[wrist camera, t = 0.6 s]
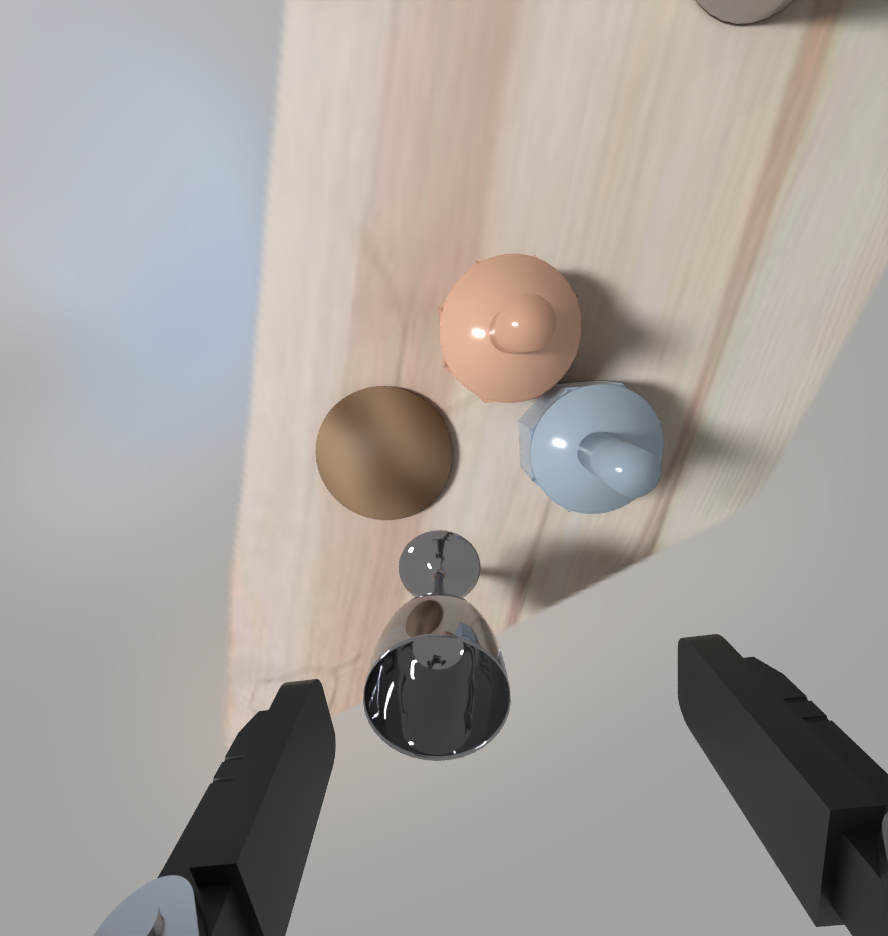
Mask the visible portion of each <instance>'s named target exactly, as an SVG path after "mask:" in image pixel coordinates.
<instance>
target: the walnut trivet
mask: <svg viewBox="0 0 888 936" xmlns="http://www.w3.org/2000/svg"><path fill="white" fill-rule="evenodd" d="M316 461H317V466H318V470H319V473H320V475H321V478H322V480H323V482H324V484H325V486H326V487H327V489H328V490H329V492H330V493H331V494H332V495H333V496H334V497H335V499H336V500H337V501H339V502H340V503H341V504H342V505H343V506H345V507H346V508H348V509H349V510H351V511H353V512H355V513H357V514H359V515H362V516H364V517H368V518H372V519H378V520H395V519H401V518H405V517H408V516H411V515H413V514H416V513H418V512H419V511H421V510H423V509H424V508H426V507H427V506H428V505H430V504H431V503H432V502H433V501H434V500H435V499H436V498H437V497H438V495H439V494H440V493H441V491H442V490H443V488H444V486H445V484H446V482H447V480H448V477H449V474H450V470H451V465H452V446H451V440H450V436H449V433H448V430H447V428H446V426H445V424H444V422H443V420H442V419H441V417H440V415H439V414H438V413H437V412H436V410H435V409H434V408H433V407H432V406H431V405H430V404H429V403H427V402H426V401H425V400H423V399H422V398H421V397H419V396H417V395H415V394H413V393H411V392H409V391H406V390H403V389H399V388H395V387H387V386H381V387H371V388H366V389H363V390H359V391H357V392H355V393H352V394H350V395H348V396H347V397H345V398H344V399H342V400H341V401H340V402H338V403H337V404H336V405H335V406H334V407H333V408H332V409H331V410H330V412H329V413H328V414H327V416H326V417H325V419H324V421H323V423H322V425H321V427H320V430H319V433H318V436H317V442H316Z"/></svg>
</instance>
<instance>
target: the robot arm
mask: <svg viewBox="0 0 888 936" xmlns="http://www.w3.org/2000/svg"><path fill="white" fill-rule="evenodd" d="M696 1H697V2H698V4H700V5H701V6H702V7H703V8H704V9H705V10H706V11H707V12H708V13H709V14H711V15H713V16H715V17H717V18H718V19H720V20H722V21H727V22H731V23H736V24H741V23H753V22H757V21H760V20H763V19H767V18H768V17H770V16H772V15H774V14H776V13H777V12H779V11H781V10H782V9H783V8H785V7H786V6H787V5H788V4H789V3H790V2H792V1H793V0H696ZM678 700H679V705H680V708H681V712H682V714H683V717H684V720H685V722H686V724H687V726H688V728H689V729H690V731H691V732H692V734H693V735H694V737H695V739H696V740H697V742H698V743H699V745H700V747H701V748H702V749H703V751H704V753H705V754H706V756H707V757H708V759H709V761H710V762H711V764H712V765H713V767H714V768H715V770H716V772H717V773H718V775H719V776H720V778H721V779H722V781H723V782H724V784H725V785H726V787H727V789H728V790H729V792H730V793H731V795H732V796H733V798H734V800H735V801H736V803H737V804H738V806H739V807H740V809H741V810H742V812H743V814H744V815H745V817H746V818H747V820H748V821H749V823H750V825H751V826H752V828H753V829H754V831H755V832H756V834H757V835H758V837H759V839H760V840H761V842H762V843H763V845H764V846H765V848H766V849H767V851H768V853H769V854H770V856H771V857H772V859H773V860H774V862H775V864H776V865H777V867H778V868H779V870H780V871H781V873H782V874H783V875H784V878H785V879H786V881H787V882H788V884H789V885H790V887H791V888H792V890H793V892H794V893H795V895H796V896H797V898H798V899H799V901H800V902H801V904H802V906H803V907H804V909H805V910H806V912H807V913H808V915H809V917H810V918H811V920H812V921H813V923H814V924H815V926H816V927H820V926H831V925H832V926H833V925H845V926H846V927H847V929H848V930H849V931H850V933H851V934H852V936H888V774H887V773H886V772H885V771H884V770H883V769H882V768H881V767H880V766H879V765H878V764H877V763H876V762H874V760H873V759H871V758H870V757H869V756H868V755H867V754H866V753H865V752H864V751H863V750H862V749H861V748H860V747H859V746H858V745H857V744H856V743H855V742H854V741H853V740H852V739H851V738H850V737H848V736H847V735H846V734H845V733H844V732H843V731H842V730H841V729H840V728H839V727H838V726H837V725H836V724H835V723H834V722H833V721H829V720H828V719H827V716H826V715H825V714H824V713H823V712H822V711H821V710H820V709H819V708H818V707H817V706H816V705H815V704H814V703H813V702H812V701H808V700H807V697H806V695H805V694H804V693H802V692H801V691H800V690H799V689H798V688H797V687H796V686H795V685H794V684H793V683H792V682H791V681H790V680H789V679H788V678H787V677H786V676H785V675H784V674H782V673H781V672H779V671H777V670H775V669H774V668H772V667H770V666H769V665H767V664H765V663H763V662H762V661H760V660H758V659H756V658H755V657H748V658H743V657H742V656H741V655H740V654H739V653H738V652H737V651H736V650H735V649H734V648H733V647H732V646H731V645H730V644H729V643H728V642H727V641H726V640H725V639H724V638H723V637H722V636H720V635H718V634H712V635H705V636H704V635H703V636H696V637H687V638H681V639H680V640H679V642H678ZM334 758H335V732H334V728H333V724H332V721H331V717H330V713H329V709H328V706H327V702H326V698H325V694H324V691H323V687H322V684H321V682H320V681H319V680H318V679H313V680H304V681H295V682H287V683H284V684H283V685H282V686H281V687H280V689H279V691H278V693H277V695H276V697H275V699H274V701H273V703H272V705H271V707H270V709H269V710H265V711H259V712H258V713H257V714H256V715H255V716H254V717H253V718H252V719H251V720H250V721H249V722H248V723H247V724H246V725H245V726H244V728H243V729H242V730H241V731H240V732H239V733H238V735H237V736H236V738H235V740H234V742H233V744H232V745H231V747H230V749H229V751H228V753H227V755H226V756H225V761H224V762H222V764H221V765H220V767H219V769H218V771H217V773H216V774H215V776H214V780H213V783H211V784H210V785H209V787H208V789H207V791H206V792H205V794H204V796H203V798H202V800H201V801H200V803H199V805H198V807H197V808H196V810H195V812H194V814H193V816H192V818H191V819H190V821H189V823H188V825H187V826H186V828H185V830H184V832H183V834H182V836H181V837H180V839H179V841H178V843H177V844H176V846H175V848H174V850H173V852H172V854H171V855H170V857H169V859H168V861H167V862H166V864H165V866H164V868H163V870H162V871H161V873H160V874H159V876H158V878H157V879H155V880H153V881H151V882H149V883H147V884H145V885H143V886H142V887H140V888H139V889H137V890H136V891H134V892H133V893H132V894H130V895H129V896H128V897H127V898H126V899H124V900H123V901H122V902H121V903H120V904H119V905H118V906H117V907H116V908H115V909H114V910H113V911H112V912H111V913H110V914H109V915H108V917H107V918H106V919H105V920H104V921H103V923H102V924H101V925H100V927H99V928H98V930H97V931H96V933H95V934H94V935H93V936H285V934H286V931H287V927H288V924H289V920H290V917H291V913H292V909H293V906H294V902H295V899H296V895H297V892H298V888H299V885H300V881H301V878H302V874H303V870H304V867H305V863H306V860H307V856H308V853H309V849H310V846H311V842H312V838H313V835H314V831H315V828H316V824H317V820H318V817H319V814H320V810H321V807H322V803H323V799H324V796H325V792H326V789H327V785H328V782H329V778H330V774H331V771H332V768H333V764H334Z"/></svg>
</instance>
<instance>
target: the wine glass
mask: <svg viewBox="0 0 888 936" xmlns="http://www.w3.org/2000/svg"><path fill="white" fill-rule="evenodd" d="M479 571H480V564H479V559H478V555H477V553H476V551H475V549H474V548H473V547H472V545H471V544H470V543H469V542H468V541H467V540H466V539H464V538H463V537H461V536H459V535H457V534H455V533H452V532H448V531H431V532H427V533H424V534H422V535H419V536H418V537H416V538H414V539H413V540H412V541H411V542H410V543H409V544H408V545H407V546H406V547H405V549H404V550H403V553H402V555H401V557H400V561H399V574H400V577H401V581H402V582H403V584H404V586H405V588H406V589H407V590H408V591H409V592H410V593H411V594H412V595H413V596H414V597H415V598H413V599H411V600H410V601H408V602H406V603H405V604H404V605H403V606H402V607H401V608H400V609H399V610H398V611H396V613H395V614H394V615H393V616H392V618H391V619H390V621H389V622H388V624H387V625H386V627H385V628H384V630H383V632H382V634H381V636H380V639H379V641H378V643H377V645H376V647H375V649H374V653H373V656H372V659H371V662H370V666H369V670H368V673H367V678H366V682H365V686H364V697H363V704H364V710H365V714H366V717H367V719H368V722H369V724H370V725H371V727H372V729H373V730H374V732H375V733H376V734H377V735H378V736H379V737H380V739H381V740H382V741H384V742H385V743H386V744H388V745H389V746H390V747H391V748H393V749H395V750H397V751H398V752H400V753H402V754H405V755H408V756H410V757H414V758H418V759H423V760H433V761H441V760H451V759H456V758H460V757H464V756H466V755H469V754H472V753H474V752H476V751H477V750H479V749H481V748H483V747H484V746H485V745H486V744H488V743H489V742H490V741H492V740H493V739H494V737H495V736H496V735H497V734H498V733H499V732H500V730H501V728H502V727H503V725H504V724H505V722H506V719H507V716H508V714H509V708H510V703H511V702H510V701H511V700H510V687H509V681H508V676H507V672H506V668H505V664H504V661H503V657H502V653H501V650H500V647H499V645H498V642H497V640H496V638H495V636H494V633H493V631H492V629H491V627H490V626H489V624H488V623H487V621H486V619H485V618H484V617H483V615H482V614H481V613H480V612H479V611H478V610H477V609H476V608H475V607H474V606H473V605H472V604H471V603H470V602H468V601H467V600H465V599H463V597H464V596H466V595H467V594H468V593H469V592H470V591H471V590H472V589H473V587H474V586H475V584H476V582H477V580H478V576H479Z"/></svg>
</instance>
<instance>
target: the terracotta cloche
mask: <svg viewBox="0 0 888 936" xmlns="http://www.w3.org/2000/svg"><path fill="white" fill-rule="evenodd" d="M439 316H440V340H441V347H442V351H443V361H444V367H445V368H446V369H447V370H448V371H450V372H451V373H452V374H453V375H454V376H455V377H456V378H457V380H458V381H459V382H460V383H461V384H462V385H463V386H464V387H466V388H467V389H468V390H470V391H471V392H473V393H474V394H476V395H477V396H478V397H479V398H481V399H482V400H483V401H484V402H485V403H486V402H503V403H514V402H521V401H525V400H529V399H533V398H540V397H541V396H542V394H543V393H544V392H546V391H547V390H549V389H550V388H551V387H553V386H554V385H555V384H556V383H557V382H558V381H559V380H560V379H561V378H562V377H563V376H564V374H565V373H566V372H567V371H568V369H569V367H570V366H571V364H572V362H573V360H574V358H575V357H576V356H577V355H578V354H577V350H578V347H579V344H580V338H581V329H582V322H581V313H580V307H579V304H578V301H577V295H576V294H575V293H574V291H573V289H572V287H571V286H570V285H569V283H568V282H567V280H566V279H565V278H564V277H563V276H562V274H561V273H560V272H558V271H557V270H556V269H555V268H554V267H553V266H551V265H549V264H548V263H546V262H544V261H542V260H540V259H538V258H537V257H536V256H528V255H521V254H505V255H499V256H495V257H492V258H489V259H487V260H481V261H476V263H475V264H474V265H473V266H472V268H471V269H470V270H469V271H467V272H466V273H465V274H464V275H463V276H462V277H461V278H460V279H459V280H458V281H457V283H456V284H455V286H454V287H453V288H452V290H451V292H450V294H449V296H448V298H447V299H446V300H445V302H444V303H443V304H442V305H441V307H440V308H439Z"/></svg>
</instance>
